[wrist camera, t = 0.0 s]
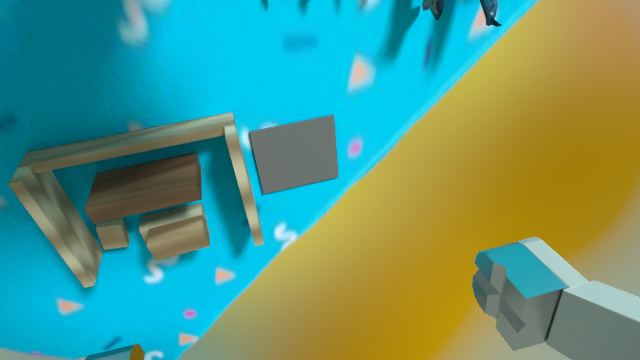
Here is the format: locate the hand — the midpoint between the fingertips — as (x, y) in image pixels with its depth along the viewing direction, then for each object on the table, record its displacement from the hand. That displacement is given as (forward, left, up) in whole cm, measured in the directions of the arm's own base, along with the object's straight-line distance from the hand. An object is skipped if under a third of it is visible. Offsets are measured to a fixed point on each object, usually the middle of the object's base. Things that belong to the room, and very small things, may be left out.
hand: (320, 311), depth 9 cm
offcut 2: (+28, -14, -39) cm, 50 cm away
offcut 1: (+27, -22, -39) cm, 52 cm away
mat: (+22, +4, -39) cm, 45 cm away
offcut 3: (+28, -13, -36) cm, 47 cm away
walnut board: (+19, -14, -39) cm, 46 cm away
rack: (+22, -14, -39) cm, 47 cm away
